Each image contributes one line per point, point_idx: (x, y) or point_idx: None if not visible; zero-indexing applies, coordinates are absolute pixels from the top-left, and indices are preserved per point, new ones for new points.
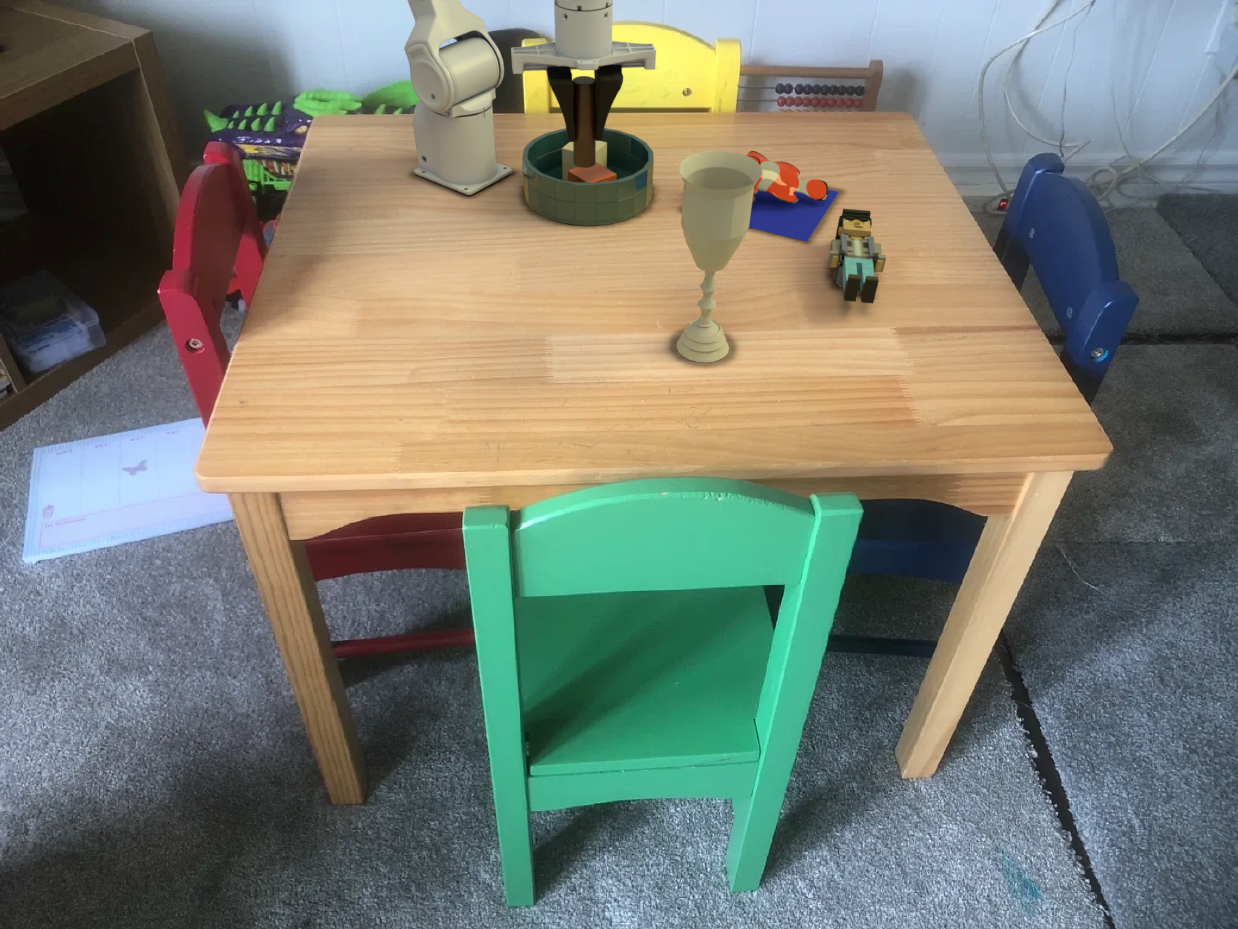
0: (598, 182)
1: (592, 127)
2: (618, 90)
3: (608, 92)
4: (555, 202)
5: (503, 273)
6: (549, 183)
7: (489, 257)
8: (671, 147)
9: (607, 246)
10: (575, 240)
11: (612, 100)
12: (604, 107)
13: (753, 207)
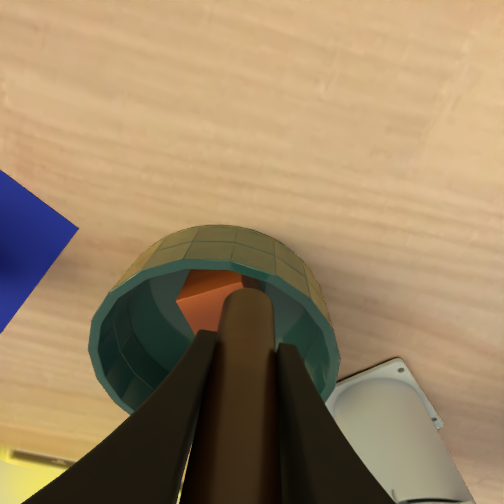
0: (218, 285)
1: (222, 365)
2: (46, 487)
3: (115, 485)
4: (305, 274)
5: (467, 110)
6: (317, 303)
7: (460, 177)
8: (73, 394)
9: (240, 151)
10: (290, 189)
11: (113, 436)
12: (163, 414)
13: None
